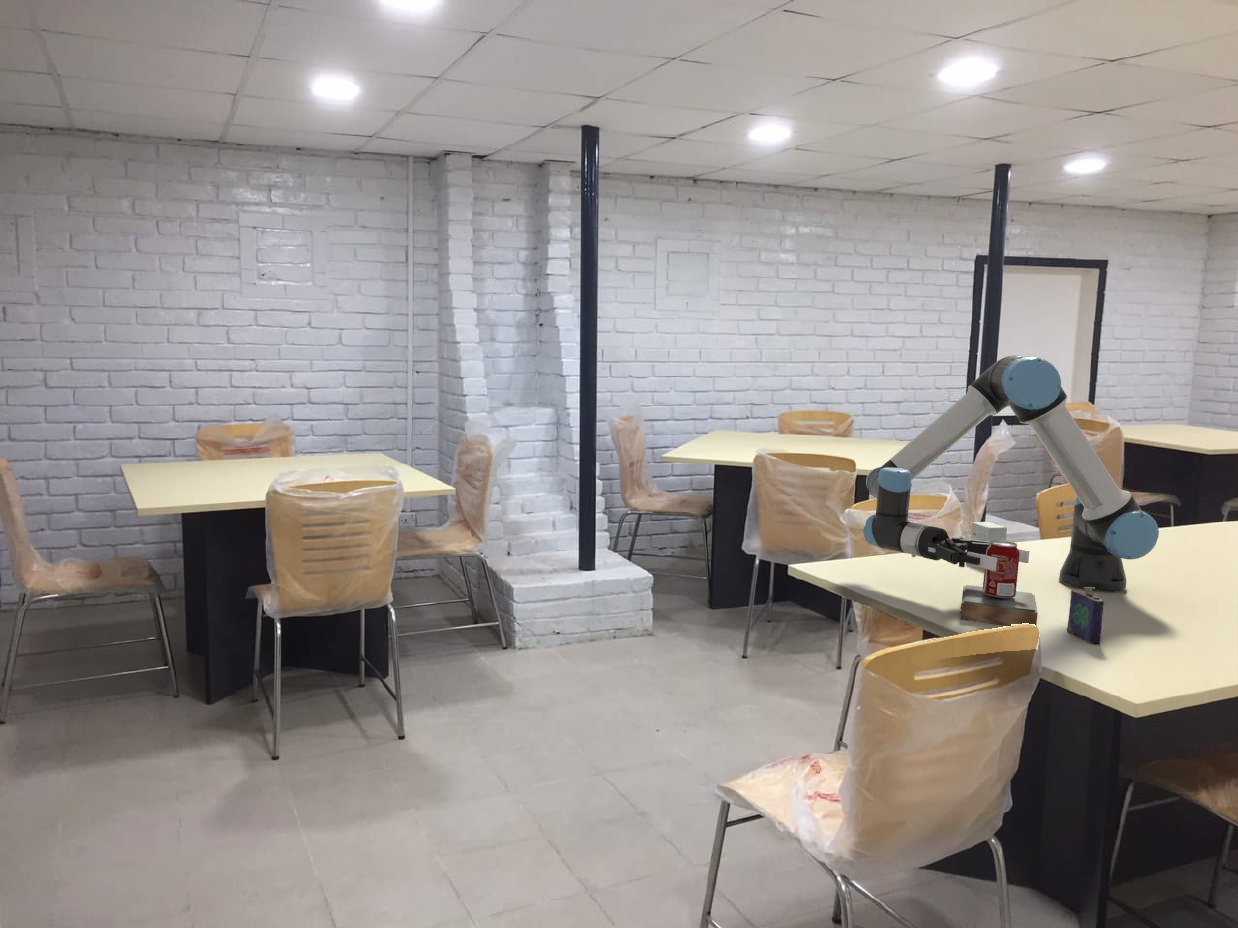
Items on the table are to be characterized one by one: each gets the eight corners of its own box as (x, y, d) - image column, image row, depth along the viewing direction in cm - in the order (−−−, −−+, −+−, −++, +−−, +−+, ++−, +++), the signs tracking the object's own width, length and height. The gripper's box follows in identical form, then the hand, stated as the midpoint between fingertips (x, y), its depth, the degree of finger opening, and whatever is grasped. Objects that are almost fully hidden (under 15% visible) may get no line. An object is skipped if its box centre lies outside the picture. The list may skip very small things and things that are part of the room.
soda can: (1018, 602, 207) (1023, 547, 206) (985, 599, 209) (990, 544, 207) (1011, 594, 214) (1016, 540, 212) (979, 591, 215) (984, 538, 214)
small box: (1004, 565, 260) (1007, 527, 258) (985, 566, 258) (989, 527, 257) (985, 558, 267) (989, 521, 266) (968, 559, 266) (971, 521, 264)
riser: (1032, 610, 217) (1034, 592, 216) (1035, 629, 202) (1037, 610, 201) (961, 601, 222) (963, 584, 221) (959, 619, 207) (961, 601, 206)
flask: (1064, 630, 202) (1069, 580, 201) (1077, 630, 202) (1082, 580, 201) (1091, 645, 193) (1097, 592, 192) (1104, 645, 193) (1111, 592, 192)
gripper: (954, 551, 233) (1039, 570, 217) (892, 563, 217) (979, 585, 201) (956, 520, 232) (1042, 537, 216) (895, 530, 216) (982, 549, 200)
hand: (1012, 560), depth 208 cm, fingers open, 13 cm apart
